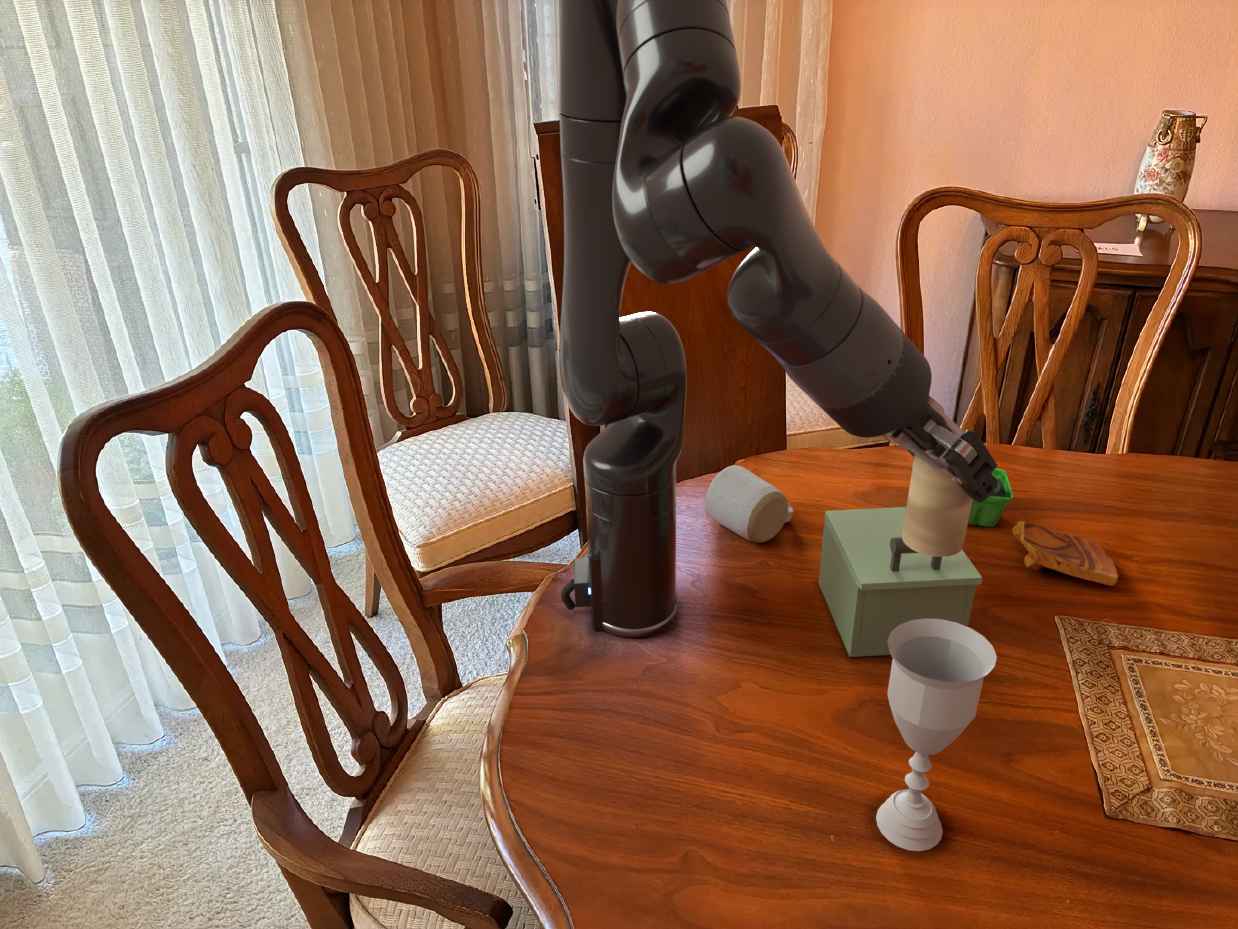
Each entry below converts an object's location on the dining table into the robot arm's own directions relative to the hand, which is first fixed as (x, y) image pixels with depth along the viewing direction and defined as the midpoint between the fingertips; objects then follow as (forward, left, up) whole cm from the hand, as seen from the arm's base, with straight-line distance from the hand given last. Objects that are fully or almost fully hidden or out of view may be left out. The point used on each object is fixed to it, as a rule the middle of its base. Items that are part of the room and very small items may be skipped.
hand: (961, 475), depth 68 cm
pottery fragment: (+24, +21, -25) cm, 40 cm away
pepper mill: (-2, -1, -6) cm, 6 cm away
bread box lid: (+1, +13, -16) cm, 21 cm away
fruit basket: (+16, +33, -25) cm, 44 cm away
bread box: (+1, +14, -25) cm, 28 cm away
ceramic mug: (-10, +33, -25) cm, 42 cm away
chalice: (-5, -13, -25) cm, 28 cm away
